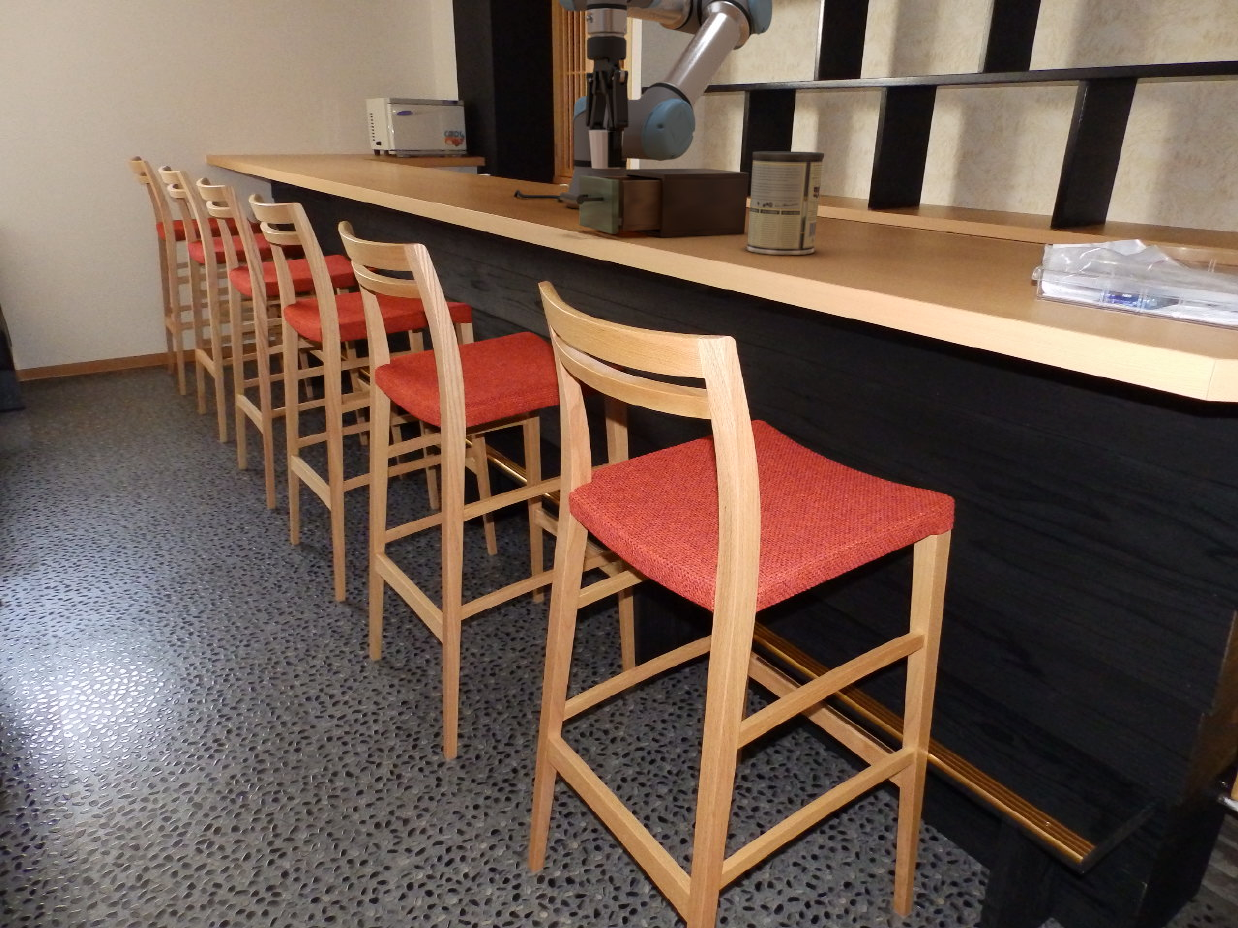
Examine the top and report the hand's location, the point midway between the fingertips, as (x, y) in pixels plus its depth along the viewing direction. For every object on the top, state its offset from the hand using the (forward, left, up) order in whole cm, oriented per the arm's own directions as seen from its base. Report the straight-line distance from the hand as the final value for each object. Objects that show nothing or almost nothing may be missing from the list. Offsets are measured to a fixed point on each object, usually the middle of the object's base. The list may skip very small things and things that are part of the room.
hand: (606, 166), depth 166 cm
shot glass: (0, 0, -1) cm, 1 cm away
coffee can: (+53, +4, -10) cm, 54 cm away
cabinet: (+26, +3, -10) cm, 28 cm away
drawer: (+26, -9, -9) cm, 29 cm away
